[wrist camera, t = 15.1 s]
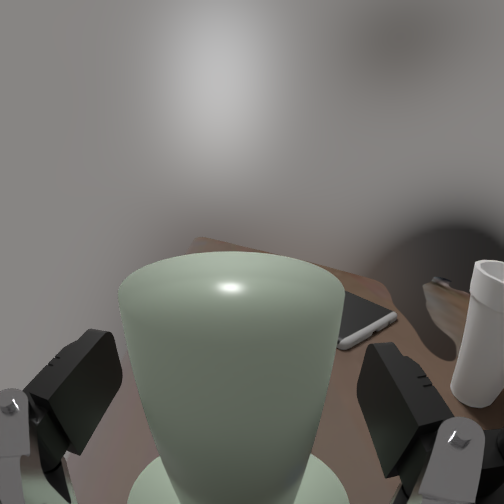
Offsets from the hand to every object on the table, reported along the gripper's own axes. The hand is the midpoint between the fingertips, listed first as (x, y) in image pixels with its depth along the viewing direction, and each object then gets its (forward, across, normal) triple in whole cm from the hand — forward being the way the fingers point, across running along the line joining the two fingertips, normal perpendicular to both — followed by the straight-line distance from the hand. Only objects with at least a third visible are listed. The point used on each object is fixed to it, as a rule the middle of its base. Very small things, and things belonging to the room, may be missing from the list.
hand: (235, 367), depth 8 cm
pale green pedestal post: (-2, 0, +14) cm, 14 cm away
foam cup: (+10, -24, +14) cm, 29 cm away
